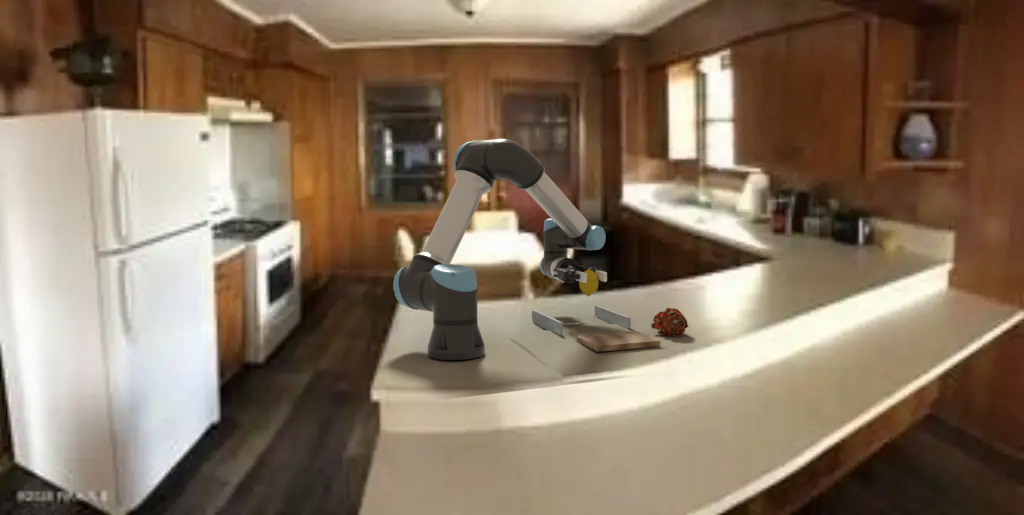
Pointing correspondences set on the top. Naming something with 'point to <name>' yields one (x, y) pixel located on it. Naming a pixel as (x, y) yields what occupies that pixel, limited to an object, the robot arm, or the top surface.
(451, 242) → the robot arm
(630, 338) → the board
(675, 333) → the dragon fruit
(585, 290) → the lemon
